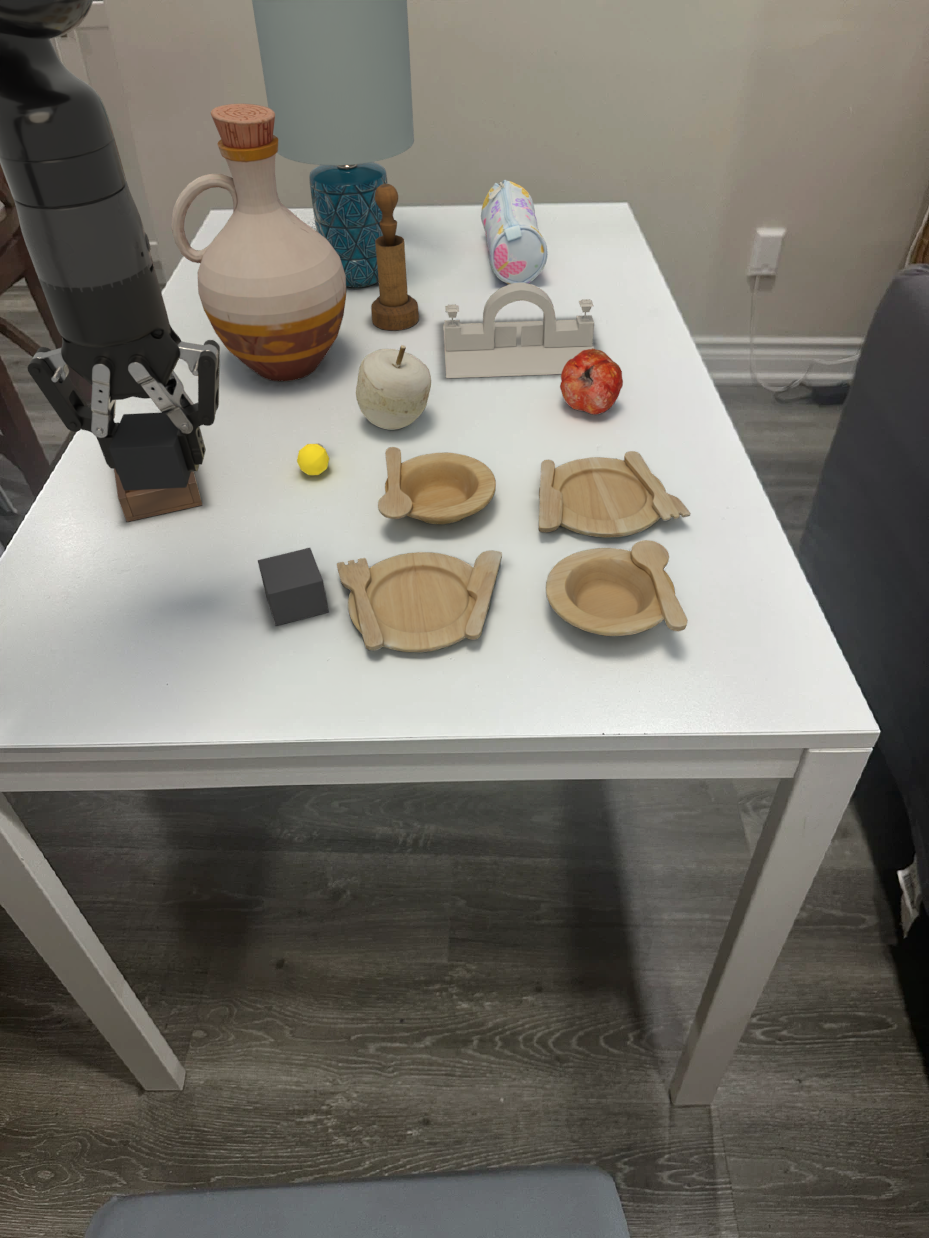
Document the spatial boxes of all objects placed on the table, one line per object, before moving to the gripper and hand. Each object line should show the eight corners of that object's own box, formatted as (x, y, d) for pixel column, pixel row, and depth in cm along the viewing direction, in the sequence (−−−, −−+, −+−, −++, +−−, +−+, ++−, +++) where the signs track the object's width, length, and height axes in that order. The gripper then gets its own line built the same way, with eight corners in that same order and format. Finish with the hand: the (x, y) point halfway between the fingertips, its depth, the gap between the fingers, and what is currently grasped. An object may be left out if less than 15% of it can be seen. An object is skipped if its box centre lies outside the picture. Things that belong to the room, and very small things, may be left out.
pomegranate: (564, 405, 110) (537, 390, 101) (591, 351, 108) (565, 330, 99) (615, 429, 108) (591, 416, 98) (642, 374, 106) (621, 355, 97)
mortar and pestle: (390, 335, 120) (378, 198, 107) (363, 319, 123) (349, 184, 110) (428, 321, 123) (421, 185, 110) (400, 305, 126) (391, 173, 113)
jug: (191, 404, 108) (120, 137, 86) (218, 336, 120) (162, 89, 99) (349, 400, 107) (316, 133, 86) (359, 333, 120) (333, 86, 99)
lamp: (306, 252, 141) (265, -38, 114) (425, 252, 140) (411, -39, 113) (284, 304, 127) (232, -10, 100) (415, 305, 126) (397, -12, 100)
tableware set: (668, 465, 97) (674, 434, 94) (725, 658, 76) (734, 625, 73) (354, 470, 97) (350, 438, 94) (325, 663, 76) (319, 631, 73)
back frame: (126, 522, 91) (118, 499, 89) (115, 447, 101) (107, 425, 99) (202, 505, 93) (196, 482, 91) (183, 433, 103) (177, 411, 101)
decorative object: (346, 418, 105) (337, 341, 98) (409, 397, 108) (404, 321, 101) (381, 453, 99) (374, 374, 92) (447, 429, 102) (444, 351, 95)
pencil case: (480, 237, 144) (480, 176, 137) (532, 235, 144) (535, 174, 137) (489, 292, 129) (489, 226, 122) (547, 290, 129) (551, 224, 122)
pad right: (275, 626, 80) (268, 594, 77) (265, 591, 83) (257, 560, 80) (328, 612, 81) (323, 580, 78) (316, 578, 84) (310, 547, 81)
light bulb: (303, 484, 95) (289, 454, 93) (311, 466, 100) (298, 438, 99) (331, 474, 95) (318, 444, 93) (338, 457, 100) (325, 428, 98)
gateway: (445, 351, 116) (443, 292, 110) (445, 343, 118) (443, 285, 112) (592, 346, 116) (597, 287, 111) (589, 338, 118) (594, 279, 112)
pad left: (123, 491, 69) (108, 448, 66) (137, 455, 73) (122, 413, 70) (186, 488, 69) (174, 445, 66) (197, 452, 73) (185, 410, 70)
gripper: (-33, 288, 56) (59, 500, 68) (190, 278, 56) (242, 491, 68) (4, 242, 61) (83, 446, 73) (208, 233, 62) (254, 438, 74)
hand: (160, 466), depth 71 cm, fingers closed on pad left, 5 cm apart
